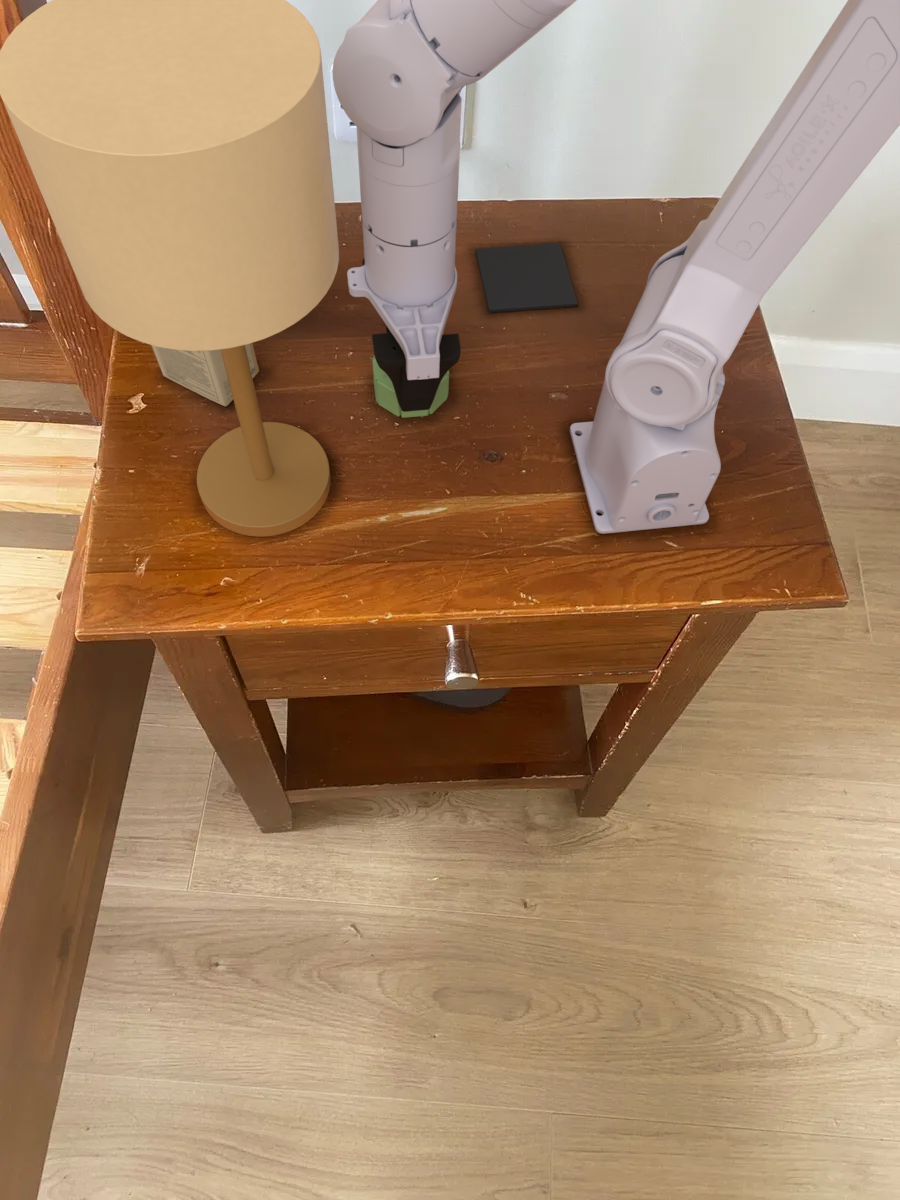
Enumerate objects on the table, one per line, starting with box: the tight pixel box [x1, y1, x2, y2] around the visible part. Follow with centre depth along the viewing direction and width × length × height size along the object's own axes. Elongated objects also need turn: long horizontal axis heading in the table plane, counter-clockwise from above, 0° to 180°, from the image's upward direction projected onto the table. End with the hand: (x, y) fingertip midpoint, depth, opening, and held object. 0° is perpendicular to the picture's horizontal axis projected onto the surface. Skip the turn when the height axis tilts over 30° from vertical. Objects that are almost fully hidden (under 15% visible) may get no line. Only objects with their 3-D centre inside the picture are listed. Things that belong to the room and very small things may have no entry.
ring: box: [371, 354, 450, 419], centre depth 65 cm, size 5×5×2 cm
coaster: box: [474, 242, 578, 314], centre depth 72 cm, size 7×7×1 cm
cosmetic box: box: [151, 342, 260, 407], centre depth 61 cm, size 6×4×12 cm
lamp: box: [0, 0, 340, 538], centre depth 49 cm, size 13×13×29 cm
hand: (410, 375), depth 65 cm, fingers closed on ring, 5 cm apart
